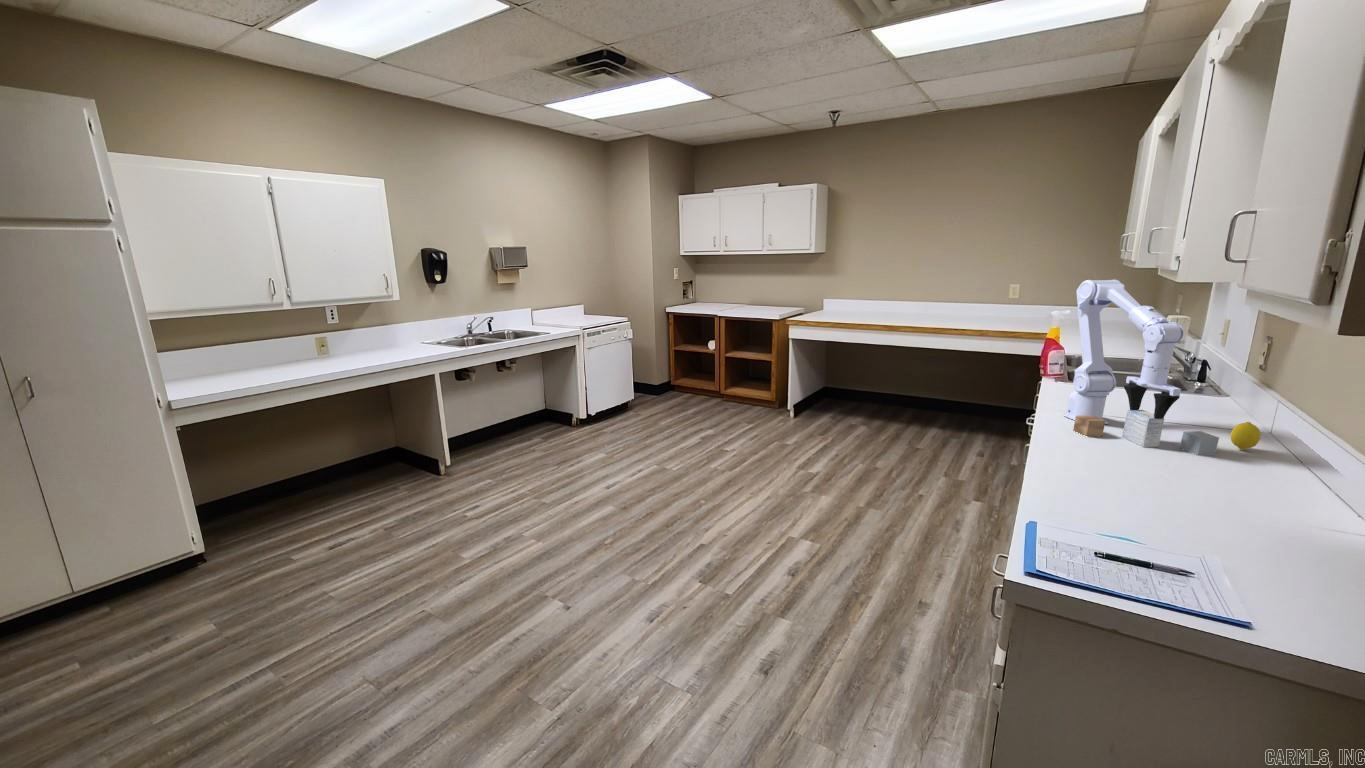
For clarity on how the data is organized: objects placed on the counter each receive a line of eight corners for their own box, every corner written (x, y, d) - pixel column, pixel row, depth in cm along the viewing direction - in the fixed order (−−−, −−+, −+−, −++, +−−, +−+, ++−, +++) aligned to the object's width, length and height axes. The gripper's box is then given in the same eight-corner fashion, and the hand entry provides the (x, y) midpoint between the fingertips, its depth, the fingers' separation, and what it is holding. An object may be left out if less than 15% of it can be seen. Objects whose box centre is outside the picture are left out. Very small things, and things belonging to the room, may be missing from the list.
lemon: (1243, 446, 152) (1250, 419, 150) (1261, 454, 146) (1269, 425, 144) (1221, 446, 152) (1228, 418, 150) (1239, 453, 147) (1246, 425, 145)
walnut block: (1073, 431, 165) (1075, 415, 164) (1088, 430, 165) (1091, 415, 164) (1086, 437, 160) (1089, 420, 159) (1102, 436, 160) (1105, 420, 159)
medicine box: (1159, 447, 152) (1165, 417, 149) (1142, 447, 152) (1149, 417, 149) (1136, 437, 159) (1142, 409, 157) (1121, 437, 159) (1126, 409, 157)
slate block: (1179, 448, 151) (1183, 431, 149) (1196, 448, 151) (1200, 431, 150) (1197, 455, 146) (1201, 438, 144) (1214, 455, 146) (1219, 437, 145)
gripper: (1119, 361, 157) (1111, 407, 160) (1166, 372, 143) (1156, 422, 146) (1143, 361, 157) (1133, 406, 160) (1192, 372, 143) (1181, 421, 146)
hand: (1146, 414), depth 153 cm, fingers closed on medicine box, 7 cm apart
